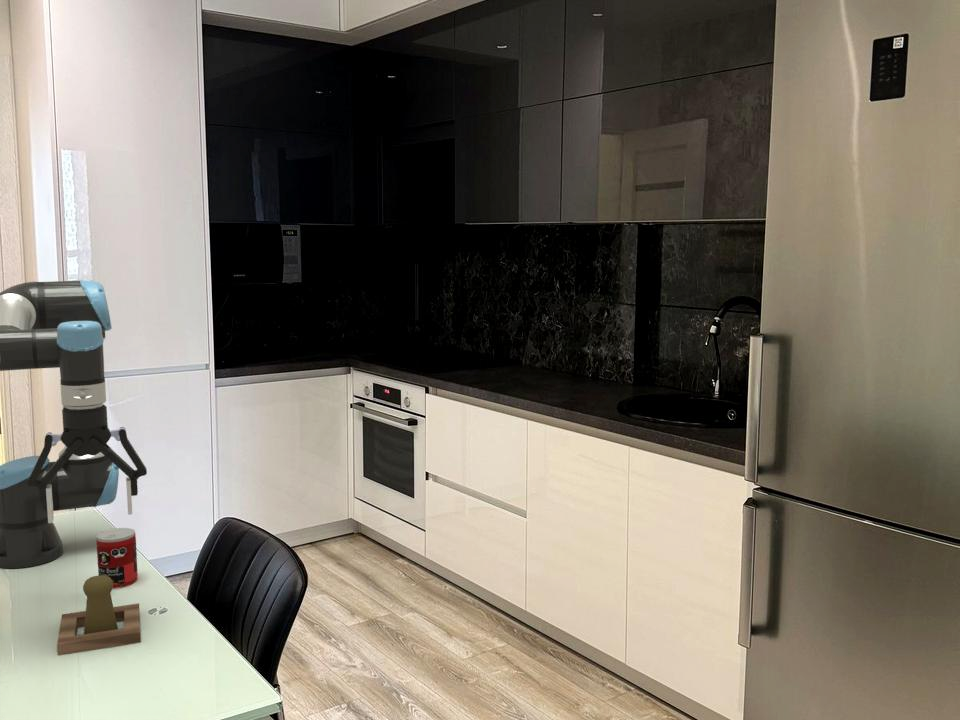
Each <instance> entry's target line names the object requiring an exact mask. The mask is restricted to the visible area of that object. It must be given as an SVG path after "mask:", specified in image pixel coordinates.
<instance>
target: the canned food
mask: <svg viewBox="0 0 960 720" xmlns="http://www.w3.org/2000/svg"><path fill="white" fill-rule="evenodd" d="M136 537H137V535H136V531H135V529H133V528H130V527H129V528H128V527H116V528H110V529H106V530H102V531H101V532H99V533H97V534H96V537H95V538H96V539H95V541H96V555H97V556H96V557H97V571H98V573H97V574H98V575H105V576H108V577H110V578H111V579H112V581H113V589H118V587H119V588H123V586H124V587H127V586H129V585H132V584H134V583H135V582H136V581H137V579H138V576H139V575H138V559H137V558H138V555H137V539H136ZM126 585H127V586H126Z"/></svg>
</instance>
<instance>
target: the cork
mask: <svg viewBox="0 0 960 720" xmlns="http://www.w3.org/2000/svg"><path fill="white" fill-rule="evenodd" d="M113 589H114V588H113V581H112V579H111V578H110V577H108V576H105V575H99V574H98V575H94V576H90V577H89V578H87V579H86V580H85V581H84V583H83V586H82V590H83V592H84V595H85V596H86V602H85V603H86V606H85V611H86V614H85V626H84V627H83V635H84V634H90V633H97V632H104V631H110V630H117V629H119V626H118V621H117V622H116V617H115V612H114V608H113V607H114V605H113V604H114V603H113V599H112V594H111V593H112V591H113Z"/></svg>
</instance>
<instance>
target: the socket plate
mask: <svg viewBox="0 0 960 720" xmlns="http://www.w3.org/2000/svg"><path fill="white" fill-rule="evenodd" d="M113 608H114V612H115V617H116V622H117V623H118V622H123V623H124V625H123V626H124V627H123V628H118V629H117V630H110V631H104V632H97V633H90V634H84V633H83V634H77V633H78V628H81V627H82V628H84V627H85V614H86V610H83V611H82V610H81V611H76V612H67V613H62V614H61V620H60V624H59V631H58V637H57V642H56V652H57V656H60V655H68V654H73V653H81V652H87V651H92V650H94V651H95V650H101V649H106V648H112V647H121V646H125V645H133V644H137V643H141V642H142V641H141V619H140V618H141V616H140V615H141V614H140V613H141V611H140V603H132V604H125V605H118V606H113Z"/></svg>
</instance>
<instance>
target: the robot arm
mask: <svg viewBox="0 0 960 720" xmlns="http://www.w3.org/2000/svg"><path fill="white" fill-rule="evenodd" d="M112 329H113V328H112V321H111V316H110V310H109V306H108V301H107V297H106V292H105V288H104V286H103V284H101V283H100V282H99V281H94V280H92V281H91V280H82V279H81V280H80V279H79V280H62V281H61V280H59V281H58V280H54V281H29V282H23V283H18V284H15V285H13V286H10V287H7V288H5V289H3V290H2V291H0V372H4V371H5V372H6V371H20V370H38V369H39V370H41V369H56V368H59V374H60V380H59V381H60V383H59V384H60V397H61V400H60V401H61V406H62V410H61V411H62V412H61V413H62V428H63V429H62V433H60V434H59V433H57V434H56V433H52V432H50V431H49V432H47V433H46V434H45V436H44V442H43V443H44V445H43V449H42V450H41V453H40V454H39V455H29V456H25V457H21V458H16V459H13V460H10V461H7V462H5V463H3V464H1V465H0V568H1V569H21V568H30V567H34V566H39V565H43V564H47V563H50V562H51V561H55V560H56V559H58V558H59V557H61V556H62V555H63V554H64V548H63V541H62V539H61V537H60V534H59V532H58V530H57V528H56V526H55V524H54V512H58V511H67V510H76V509H83V508H92V507H93V508H96V507H98V506H99V507H100V506H106V505H110V504H112V503H114V502H115V500H116V498H117V494H118V488H119V487H118V486H119V475H120V474H119V472H120V471H121V472H123V473H124V474H125V475H126V476H127V477H125V478H126V481H125V482H126V497H127V498H126V501H127V502H126V503H127V514H128V515H133V503H132V502H133V501H132V497H135V496H138V492H139V490H138V489H139V488H138V480H139V478H140V477H142V476H143V477H144V476H146V475H147V474H148V473H147V472H148V470H147V467H146V465H145V464H144V462H143V461H142V459H141V458H140V456H139V454H138V453H137V451H136V450H135V447H133V445H132V443H131V441H130V440H129V438H128V434H127V430H126V427H125V426H121V427H119V428H117V429H112V430H110V428H109V425H108V423H109V422H108V410H107V408H108V407H107V406H106V404H105V403H106V402H107V389H106V388H107V387H106V377H105V358H104V356H105V355H104V340H106V332H109V331H111V330H112ZM111 438H114V439H115V440H116V441H117V442H120V444H121V446H122V447H123V449H124V451H125V452H126V454H127V456H128V457H129V459H130V460H131V462H132V464H133V465H134V467H135V468H136V469H134V468H133V467H132V466H131V465H129V463H127V462H126V461H125V460H124V459H123V458H122V457H121V456H120V455H119V454H117V453H116V451H114V450H113V448H112V447H111V446H109V444H108V442H109V441H110V439H111ZM58 442H62V444H63V445H64V448H62V450H61V451H59V453H58V459H56V461H50V458H49V454H50V452H51V450H52V447H55V446H57V444H58ZM119 470H120V471H119Z"/></svg>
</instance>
